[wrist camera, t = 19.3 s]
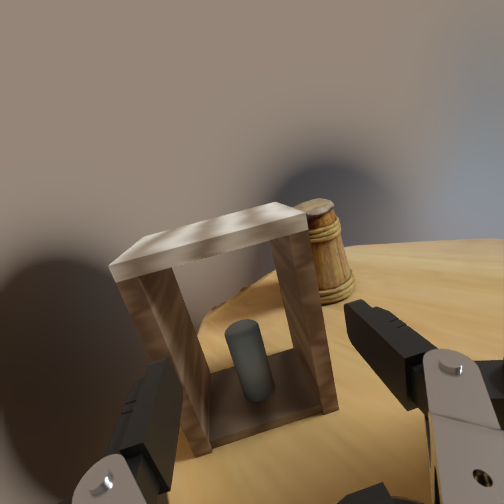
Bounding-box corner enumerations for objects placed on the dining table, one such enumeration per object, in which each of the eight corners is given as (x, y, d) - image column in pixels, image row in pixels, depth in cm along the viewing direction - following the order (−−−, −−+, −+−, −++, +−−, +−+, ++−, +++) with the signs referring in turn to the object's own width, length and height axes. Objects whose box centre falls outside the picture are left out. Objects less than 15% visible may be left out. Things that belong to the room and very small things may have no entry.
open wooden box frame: (305, 348, 50) (275, 201, 41) (338, 409, 37) (305, 212, 27) (200, 381, 48) (143, 236, 39) (195, 457, 35) (108, 265, 26)
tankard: (362, 275, 73) (353, 190, 65) (340, 322, 55) (324, 215, 47) (305, 272, 83) (292, 199, 76) (271, 311, 66) (250, 222, 58)
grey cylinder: (263, 369, 46) (248, 315, 42) (280, 389, 41) (265, 329, 37) (238, 386, 43) (219, 330, 40) (252, 408, 39) (233, 347, 35)
